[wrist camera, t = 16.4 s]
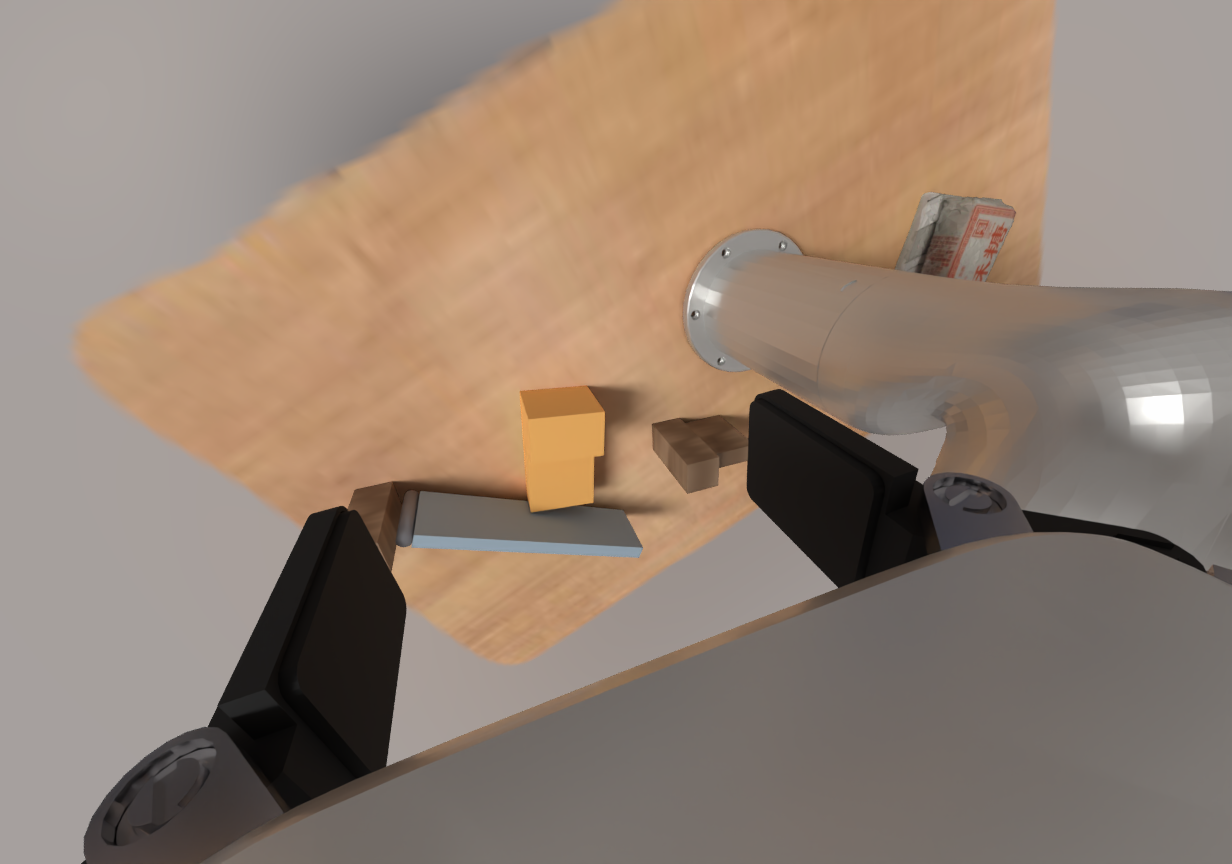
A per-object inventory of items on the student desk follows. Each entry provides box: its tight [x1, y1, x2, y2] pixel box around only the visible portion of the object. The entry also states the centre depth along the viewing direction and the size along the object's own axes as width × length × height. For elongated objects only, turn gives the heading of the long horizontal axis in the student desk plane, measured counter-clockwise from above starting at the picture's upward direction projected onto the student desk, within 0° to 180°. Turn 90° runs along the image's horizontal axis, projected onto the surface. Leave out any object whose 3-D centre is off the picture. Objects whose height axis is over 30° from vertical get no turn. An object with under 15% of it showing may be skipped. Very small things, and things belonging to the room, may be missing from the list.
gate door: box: [395, 490, 643, 558], centre depth 40 cm, size 21×1×6 cm, turn 70°
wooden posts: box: [348, 415, 748, 571], centre depth 38 cm, size 35×3×8 cm, turn 94°
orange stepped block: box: [520, 386, 605, 513], centre depth 38 cm, size 11×6×6 cm, turn 177°
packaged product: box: [895, 192, 1016, 282], centre depth 44 cm, size 18×5×10 cm
